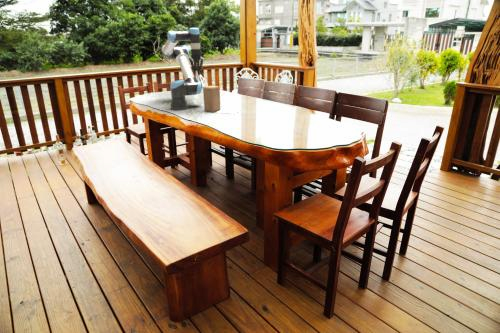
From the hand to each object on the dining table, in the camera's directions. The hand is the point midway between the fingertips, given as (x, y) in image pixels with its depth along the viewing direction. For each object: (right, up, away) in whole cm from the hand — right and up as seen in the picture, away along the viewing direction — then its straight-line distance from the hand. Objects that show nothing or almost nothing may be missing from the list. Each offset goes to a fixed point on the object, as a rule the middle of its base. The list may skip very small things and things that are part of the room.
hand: (197, 79), depth 267 cm
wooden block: (+11, -25, +6) cm, 28 cm away
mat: (+25, -26, +2) cm, 36 cm away
